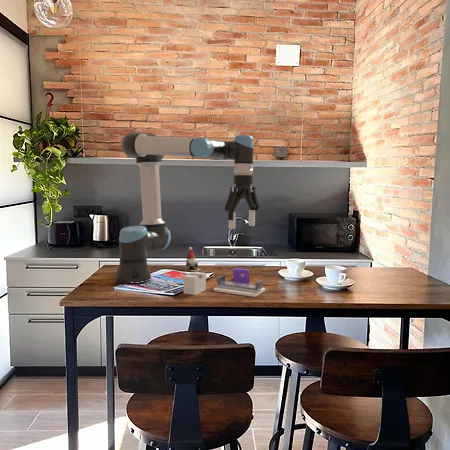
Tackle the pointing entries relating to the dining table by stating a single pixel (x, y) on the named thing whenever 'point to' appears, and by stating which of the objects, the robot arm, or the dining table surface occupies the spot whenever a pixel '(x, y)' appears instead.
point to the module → (194, 283)
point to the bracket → (241, 276)
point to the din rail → (239, 285)
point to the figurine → (192, 261)
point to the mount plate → (239, 291)
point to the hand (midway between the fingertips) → (242, 227)
